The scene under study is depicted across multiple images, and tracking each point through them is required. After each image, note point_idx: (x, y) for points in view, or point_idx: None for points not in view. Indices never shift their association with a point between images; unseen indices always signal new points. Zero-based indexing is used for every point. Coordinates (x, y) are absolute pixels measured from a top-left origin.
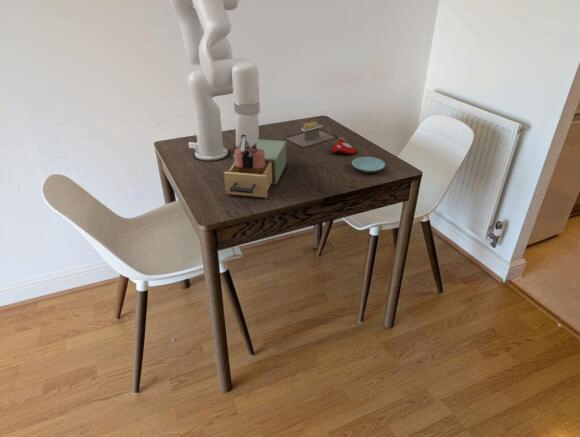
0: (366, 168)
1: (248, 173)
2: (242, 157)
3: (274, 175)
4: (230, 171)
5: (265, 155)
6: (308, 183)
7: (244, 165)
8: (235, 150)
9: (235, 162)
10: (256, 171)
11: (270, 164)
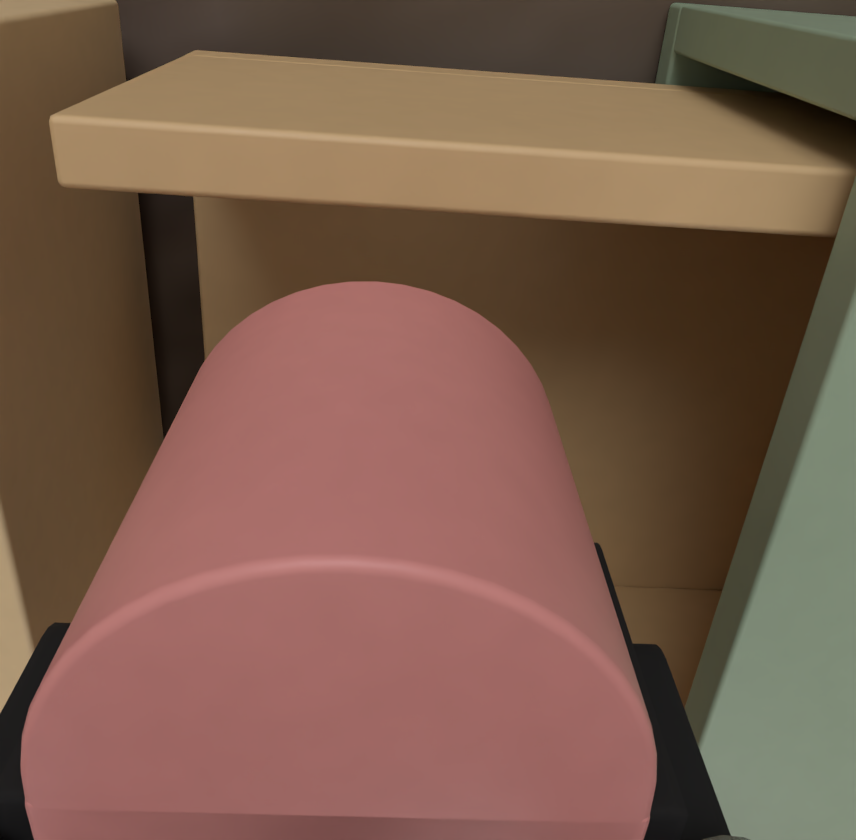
0: None
1: (13, 611)
2: (16, 759)
3: None
4: (62, 166)
5: (843, 793)
6: None
7: (49, 627)
8: (261, 607)
9: (280, 323)
10: None
11: None
